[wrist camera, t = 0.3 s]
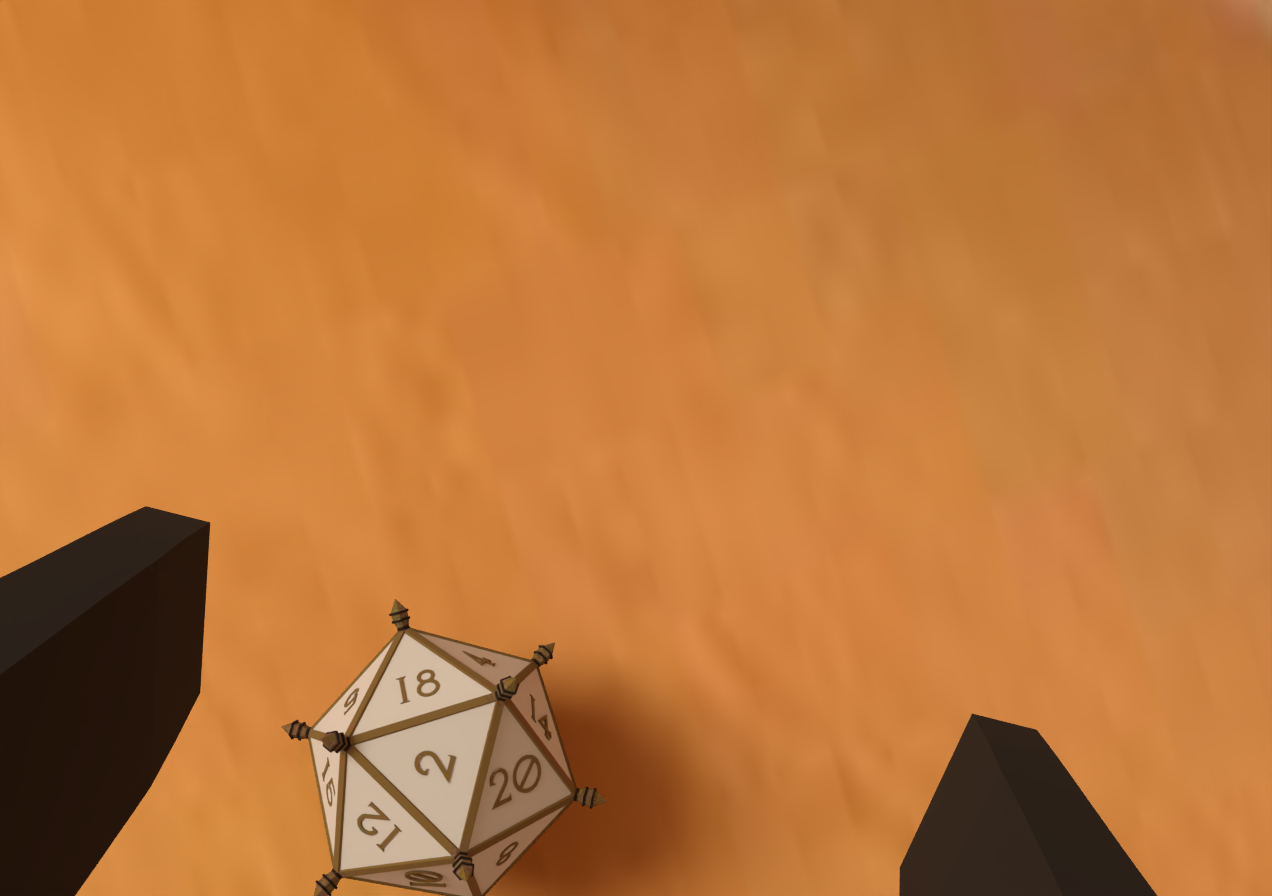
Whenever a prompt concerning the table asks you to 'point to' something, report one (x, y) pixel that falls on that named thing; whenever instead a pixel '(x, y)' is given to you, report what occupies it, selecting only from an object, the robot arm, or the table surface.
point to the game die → (438, 765)
